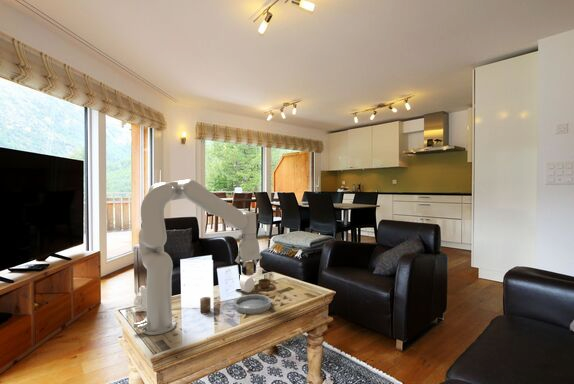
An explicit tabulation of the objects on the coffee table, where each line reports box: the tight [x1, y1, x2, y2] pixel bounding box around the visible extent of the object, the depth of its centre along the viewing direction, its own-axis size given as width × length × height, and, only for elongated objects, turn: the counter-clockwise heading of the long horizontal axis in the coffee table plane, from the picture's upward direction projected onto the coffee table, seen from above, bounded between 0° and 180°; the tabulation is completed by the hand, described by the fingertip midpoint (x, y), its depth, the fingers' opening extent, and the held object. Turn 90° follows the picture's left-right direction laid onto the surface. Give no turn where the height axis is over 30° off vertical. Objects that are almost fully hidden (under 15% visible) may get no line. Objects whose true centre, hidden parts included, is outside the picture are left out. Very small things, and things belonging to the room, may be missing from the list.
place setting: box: [253, 278, 276, 295], centre depth 165 cm, size 18×20×6 cm
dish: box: [232, 293, 272, 315], centre depth 142 cm, size 18×18×2 cm
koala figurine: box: [133, 285, 147, 313], centre depth 137 cm, size 8×7×12 cm
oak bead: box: [245, 260, 255, 277], centre depth 144 cm, size 5×5×6 cm
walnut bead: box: [199, 296, 212, 314], centre depth 135 cm, size 5×5×6 cm
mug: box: [239, 274, 257, 293], centre depth 166 cm, size 12×10×8 cm
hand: (249, 273), depth 144 cm, fingers closed on oak bead, 4 cm apart
